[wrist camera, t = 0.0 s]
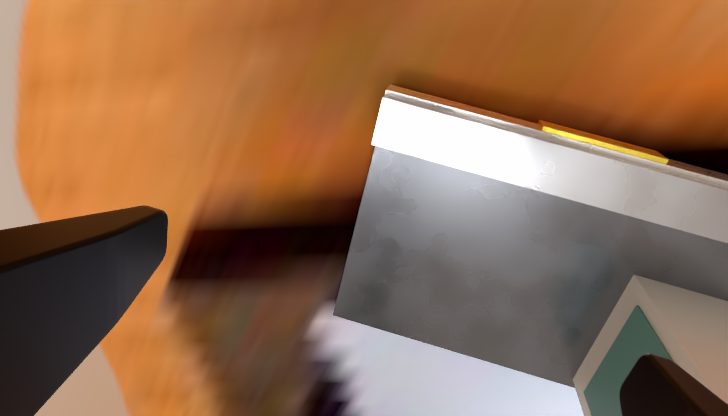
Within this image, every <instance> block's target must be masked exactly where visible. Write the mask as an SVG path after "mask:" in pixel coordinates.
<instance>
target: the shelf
mask: <svg viewBox="0 0 728 416" xmlns="http://www.w3.org/2000/svg"><path fill="white" fill-rule="evenodd" d="M371 145H374V146H375V149H374V153H373V157H372V161H371V165H370V169H369V173H368V177H367V181H366V185H365V189H364V193H363V197H362V201H361V205H360V209H359V213H358V217H357V221H356V225H355V229H354V233H353V237H352V241H351V245H350V249H349V253H348V257H347V261H346V265H345V269H344V273H343V277H342V281H341V285H340V289H339V293H338V297H337V301H336V305H335V309H334V313H333V315H335V316H338V317H341V318H345V319H348V320H351V321H355V322H358V323H361V324H365V325H368V326H371V327H375V328H378V329H381V330H384V331H388V332H391V333H394V334H398V335H401V336H404V337H408V338H411V339H414V340H418V341H421V342H424V343H428V344H431V345H434V346H438V347H441V348H444V349H448V350H451V351H454V352H458V353H461V354H464V355H468V356H471V357H474V358H478V359H481V360H484V361H488V362H491V363H494V364H498V365H501V366H504V367H507V368H511V369H514V370H517V371H521V372H524V373H527V374H531V375H534V376H537V377H541V378H544V379H547V380H551V381H554V382H557V383H561V384H564V385H567V386H571V387H574V388H575V385H574V382H573V378H574V376H575V374H576V373H577V371H578V369H579V367H580V366H581V364H582V362H583V361H584V359H585V357H586V355H587V354H588V352H589V350H590V349H591V347H592V345H593V343H594V342H595V340H596V338H597V337H598V335H599V333H600V331H601V330H602V328H603V326H604V325H605V323H606V321H607V319H608V318H609V316H610V314H611V313H612V311H613V309H614V307H615V306H616V304H617V302H618V301H619V299H620V297H621V295H622V294H623V292H624V290H625V289H626V287H627V285H628V283H629V282H630V280H631V278H632V277H633V275H637V276H641V277H644V278H648V279H651V280H655V281H659V282H662V283H666V284H669V285H673V286H676V287H680V288H683V289H687V290H690V291H694V292H697V293H701V294H704V295H708V296H711V297H715V298H718V299H722V300H725V301H728V175H727V174H723V173H720V172H716V171H712V170H709V169H705V168H701V167H697V166H694V165H690V164H686V163H682V162H679V161H675V160H671V159H667V158H666V157H664V156H663V155H662V154H660V153H659V152H657V151H655V150H651V149H647V148H644V147H640V146H636V145H632V144H629V143H625V142H621V141H617V140H614V139H610V138H606V137H602V136H599V135H595V134H591V133H587V132H584V131H580V130H576V129H572V128H569V127H565V126H561V125H557V124H554V123H550V122H546V121H542V120H538V123H533V122H529V121H526V120H522V119H518V118H514V117H511V116H507V115H503V114H499V113H496V112H492V111H488V110H484V109H481V108H477V107H473V106H469V105H466V104H462V103H458V102H455V101H451V100H447V99H443V98H440V97H436V96H432V95H428V94H425V93H421V92H417V91H413V90H410V89H406V88H402V87H399V86H395V85H391V84H390V85H389V86H388V88H387V89H386V92H385V95H384V96H383V98H382V102H381V106H380V110H379V114H378V118H377V123H376V127H375V131H374V135H373V139H372V143H371Z"/></svg>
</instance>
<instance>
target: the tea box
mask: <svg viewBox="0 0 728 416" xmlns="http://www.w3.org/2000/svg"><path fill="white" fill-rule="evenodd" d="M646 353H650V354H654V355H657V356H661V357H664V358H668V359H670V360H672V361H673V362H675V363H676V364H677V365H678V366H680V367H681V368H682V369H683V370H685V371H686V372H687V373H689V374H690V375H691V376H692V377H694V378H695V379H696V380H697V381H699V382H700V383H701V384H703V385H704V386H705V387H706V388H708V389H709V390H710V391H711V392H713V393H714V394H715V395H717V396H718V397H719V398H720V399H722V400H723V401H724V402H725V403H727V404H728V301H725V300H722V299H718V298H715V297H711V296H708V295H704V294H701V293H697V292H694V291H690V290H687V289H683V288H680V287H676V286H673V285H669V284H666V283H662V282H659V281H655V280H651V279H648V278H644V277H641V276H637V275H633V277H632V278H631V280H630V282H629V283H628V285H627V287H626V289H625V290H624V292H623V294H622V295H621V297H620V299H619V301H618V302H617V304H616V306H615V307H614V309H613V311H612V313H611V314H610V316H609V318H608V319H607V321H606V323H605V325H604V326H603V328H602V330H601V331H600V333H599V335H598V337H597V338H596V340H595V342H594V343H593V345H592V347H591V349H590V350H589V352H588V354H587V355H586V357H585V359H584V361H583V362H582V364H581V366H580V367H579V369H578V371H577V373H576V374H575V376H574V378H573V382H574V385H575V388H576V392H577V395H578V398H579V401H580V404H581V407H582V410H583V413H584V416H622V414H621V408H620V401H619V392H620V388H621V385H622V383H623V382H624V380H625V379H626V377H627V375H628V374H629V372H630V371H631V369H632V368H633V366H634V365H635V363H636V362H637V360H638V359H639V357H640V356H642V355H643V354H646Z"/></svg>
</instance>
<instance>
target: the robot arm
mask: <svg viewBox="0 0 728 416" xmlns="http://www.w3.org/2000/svg"><path fill="white" fill-rule="evenodd" d="M167 227H168V217H167V214H166V213H165V212H164V211H163V210H160V209H156V208H153V207H150V206H138V207H132V208H126V209H120V210H114V211H109V212H103V213H97V214H91V215H85V216H80V217H74V218H68V219H62V220H56V221H50V222H45V223H39V224H33V225H28V226H22V227H16V228H10V229H4V230H0V416H34V415H35V414H36V413H37V412H38V410H39V409H40V408H41V407H42V406H43V405H44V404H45V403H46V401H47V400H48V399H49V398H50V397H51V396H52V395H53V394H54V393H55V391H56V390H57V389H58V388H59V387H60V386H61V385H62V384H63V383H64V381H65V380H66V379H67V378H68V377H69V376H70V375H71V374H72V373H73V371H74V370H75V369H76V368H77V367H78V366H79V365H80V364H81V363H82V362H83V360H84V359H85V358H86V357H87V356H88V355H89V354H90V352H91V351H92V350H93V349H94V348H95V347H96V346H97V345H98V344H99V343H100V342H101V340H102V339H103V338H104V337H105V336H106V335H107V334H108V333H109V331H110V330H111V329H112V328H113V327H114V326H115V324H116V323H117V322H118V321H119V320H120V318H121V317H122V316H123V314H124V313H125V312H126V310H127V309H128V308H129V306H130V305H131V303H132V302H133V301H134V299H135V298H136V296H137V295H138V294H139V292H140V291H141V289H142V288H143V287H144V285H145V284H146V283H147V281H148V280H149V278H150V277H151V276H152V274H153V273H154V271H155V270H156V269H157V267H158V266H159V264H160V263H161V262H162V260H163V258H164V256H165V253H166V248H167ZM619 401H620V408H621V414H622V416H728V404H727V403H725V402H724V401H723V400H722V399H720V398H719V397H718V396H717V395H715V394H714V393H713V392H711V391H710V390H709V389H708V388H706V387H705V386H704V385H703V384H701V383H700V382H699V381H697V380H696V379H695V378H694V377H692V376H691V375H690V374H689V373H687V372H686V371H685V370H683V369H682V368H681V367H680V366H678V365H677V364H676V363H675V362H673V361H672V360H670V359H668V358H664V357H661V356H657V355H654V354H650V353H646V354H643V355H642V356H640V357H639V359H638V360H637V362H636V363H635V365H634V366H633V368H632V369H631V371H630V372H629V374H628V375H627V377H626V379H625V380H624V382H623V383H622V385H621V388H620V392H619Z"/></svg>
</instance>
